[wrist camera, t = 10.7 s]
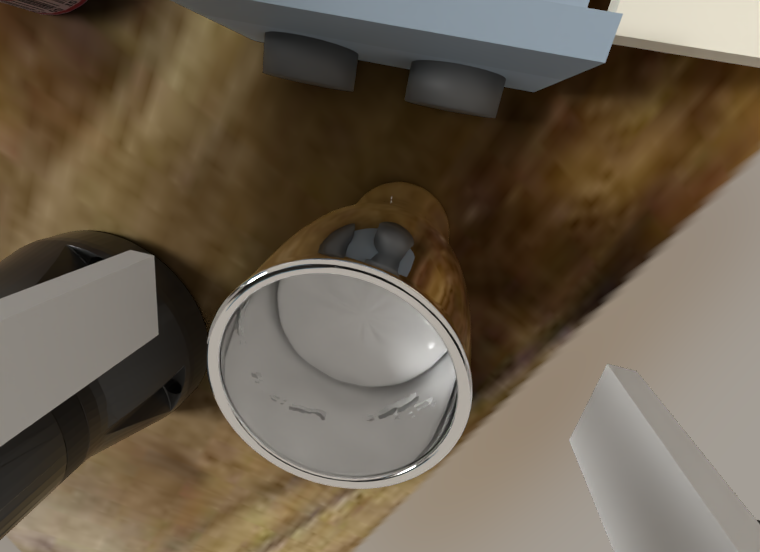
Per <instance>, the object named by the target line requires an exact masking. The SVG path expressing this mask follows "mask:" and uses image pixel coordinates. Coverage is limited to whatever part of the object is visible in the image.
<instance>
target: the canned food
mask: <svg viewBox="0 0 760 552" xmlns="http://www.w3.org/2000/svg"><path fill="white" fill-rule="evenodd" d="M86 1H87V0H0V2H2V3H5V4H9V5H12V6H16V7H19V8H23V9H26V10H29V11H33V12H36V13H39V14H47V15H59V14H63V13H67V12H71V11H73V10H75V9H76V8H78V7H80V6H82V5H83V4H84V3H85V2H86Z"/></svg>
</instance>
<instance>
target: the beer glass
mask: <svg viewBox="0 0 760 552" xmlns="http://www.w3.org/2000/svg"><path fill="white" fill-rule="evenodd" d="M448 242H449V223H448V219H447V216H446V213H445V211H444V209H443V207H442V206H441V204H440V203H439V201H438V200H437V199H436V198H435V197H434V196H433V195H432V194H431V193H429V192H428V191H427V190H425V189H423V188H422V187H419V186H417V185H414V184H411V183H406V182H390V183H386V184H382V185H379V186H377V187H375V188H373V189H372V190H370V191H369V192H367V193H366V194H365V195H364V196H363V197H362V198H361V199H360V200H359V201H358V203H357V204H354V205H351V206H347V207H343V208H340V209H337V210H334V211H332V212H329V213H327V214H325V215H324V216H322V217H320V218H318V219H317V220H315V221H313V222H312V223H310V224H308V225H307V226H305V227H304V228H302V229H301V230H300V231H298V232H297V233H296V234H295V235H293V236H292V237H291V238H290V239H288V240H287V241H286V242H285V243H284V244H282V245H281V246H280V247H279V248H278V249H277V250H276V251H275V252H274V253H273V254H272V255H271V256H270V257H269V258H268V259H267V260H266V261H265V262H264V263H263V264H262V265H261V266H260V267H259V268H258V269H257V270H256V271H255V272H254V273H253V274H252V275H251V276H250V277H249V278H248V279H247V280H245V281H244V282H243V283H241V284H240V285H239V286H238V287H237V288H235V289H234V290H233V291H232V292H231V294H230V295H229V296H228V297H227V298H226V299H225V301H224V302H223V303H222V305H221V306H220V308H219V310H218V311H217V313H216V315H215V317H214V319H213V322H212V324H211V327H210V330H209V334H208V339H207V345H206V367H207V374H208V379H209V383H210V387H211V390H212V393H213V395H214V398H215V400H216V402H217V404H218V406H219V408H220V410H221V412H222V413H223V415H224V417H225V418H226V420H227V421H228V423H229V424H230V425H231V427H232V428H233V429H234V430H235V432H236V433H237V434H238V435H239V436H240V437H241V438H242V439H243V440H244V441H245V442H246V443H247V444H248V445H249V446H250V447H251V448H252V449H253V450H255V451H256V452H257V453H258V454H260V455H261V456H262V457H264V458H265V459H266V460H268V461H270V462H271V463H273V464H274V465H276V466H278V467H279V468H281V469H283V470H285V471H287V472H289V473H291V474H294V475H296V476H298V477H301V478H303V479H306V480H309V481H312V482H316V483H319V484H323V485H328V486H333V487H340V488H351V489H367V488H378V487H385V486H390V485H394V484H398V483H401V482H404V481H407V480H409V479H412V478H414V477H416V476H418V475H420V474H422V473H424V472H426V471H427V470H429V469H430V468H432V467H433V466H435V465H436V464H437V463H438V462H440V461H441V460H442V459H443V458H444V457H445V456H446V455H447V454H448V453H449V452H450V451H451V450H452V448H453V447H454V446H455V444H456V443H457V441H458V440H459V438H460V437H461V435H462V433H463V431H464V429H465V426H466V424H467V421H468V418H469V414H470V410H471V405H472V394H473V386H472V376H471V316H470V304H469V297H468V292H467V288H466V284H465V280H464V276H463V272H462V269H461V266H460V264H459V261H458V259H457V257H456V255H455V253H454V252H453V250H452V248H451V246H450V245H449V243H448Z"/></svg>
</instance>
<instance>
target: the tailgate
mask: <svg viewBox="0 0 760 552" xmlns="http://www.w3.org/2000/svg"><path fill="white" fill-rule="evenodd" d="M607 11H609V12H615V13H621V14H623V15H622V18H621V21H620V24H619V26H618V29H617V32H616V35H615V37H614V40H613V43H612V44H615V45H621V46H627V47H633V48H640V49H646V50H652V51H658V52H664V53H671V54H677V55H683V56H689V57H695V58H702V59H708V60H714V61H720V62H727V63H733V64H739V65H745V66H751V67H758V68H760V0H611V2H610V5H609V8H608V10H607Z"/></svg>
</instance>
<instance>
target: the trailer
mask: <svg viewBox="0 0 760 552" xmlns="http://www.w3.org/2000/svg"><path fill="white" fill-rule="evenodd" d="M171 1H173V2H175V3H177V4H179V5H181V6H183V7H185V8H188V9H190V10H192V11H194V12H196V13H198V14H200V15H202V16H204V17H206V18H208V19H210V20H212V21H215V22H217V23H219V24H221V25H223V26H225V27H227V28H229V29H231V30H233V31H235V32H237V33H239V34H242V35H244V36H246V37H248V38H250V39H252V40H254V41H259V42H264V57H263V73H265V74H268V75H271V76H275V77H279V78H283V79H287V80H291V81H295V82H300V83H305V84H309V85H314V86H319V87H324V88H330V89H336V90H342V91H350V92H353V91H354V85H355V77H356V70H357V63H358V60H361V61H367V62H372V63H378V64H383V65H388V66H394V67H399V68H405V69H410V73H409V78H408V84H407V89H406V94H405V101H407V102H410V103H413V104H417V105H421V106H426V107H430V108H435V109H439V110H444V111H450V112H455V113H461V114H466V115H473V116H479V117H487V118H496V114H497V111H498V107H499V103H500V100H501V96H502V93H503V89H504V87H508V88H513V89H518V90H524V91H529V92H536V91H538V90H541V89H543V88H546V87H548V86H550V85H553V84H555V83H558V82H560V81H563V80H565V79H567V78H570V77H572V76H575V75H577V74H579V73H582V72H584V71H587V70H589V69H592V68H594V67H596V66H599V65H601V64H604V63H605V62H606V59H607V57H608V54H609V51H610V48H611V46H612V43H613V40H614V37H615V35H616V32H617V29H618V26H619V24H620V21H621V18H622V15H623V14H621V13H615V12H609V11H603V10H597V9H591V8H587V7H588V4H589V1H590V0H171Z"/></svg>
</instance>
